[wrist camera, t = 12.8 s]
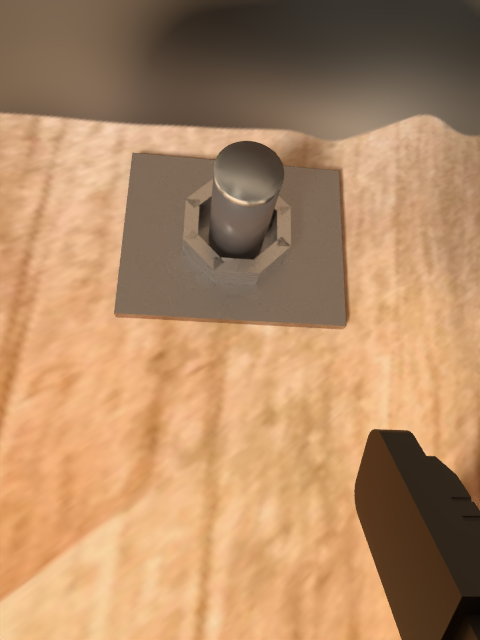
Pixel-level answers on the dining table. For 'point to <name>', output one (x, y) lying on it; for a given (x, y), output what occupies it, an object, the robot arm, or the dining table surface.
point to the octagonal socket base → (229, 273)
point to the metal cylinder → (243, 198)
